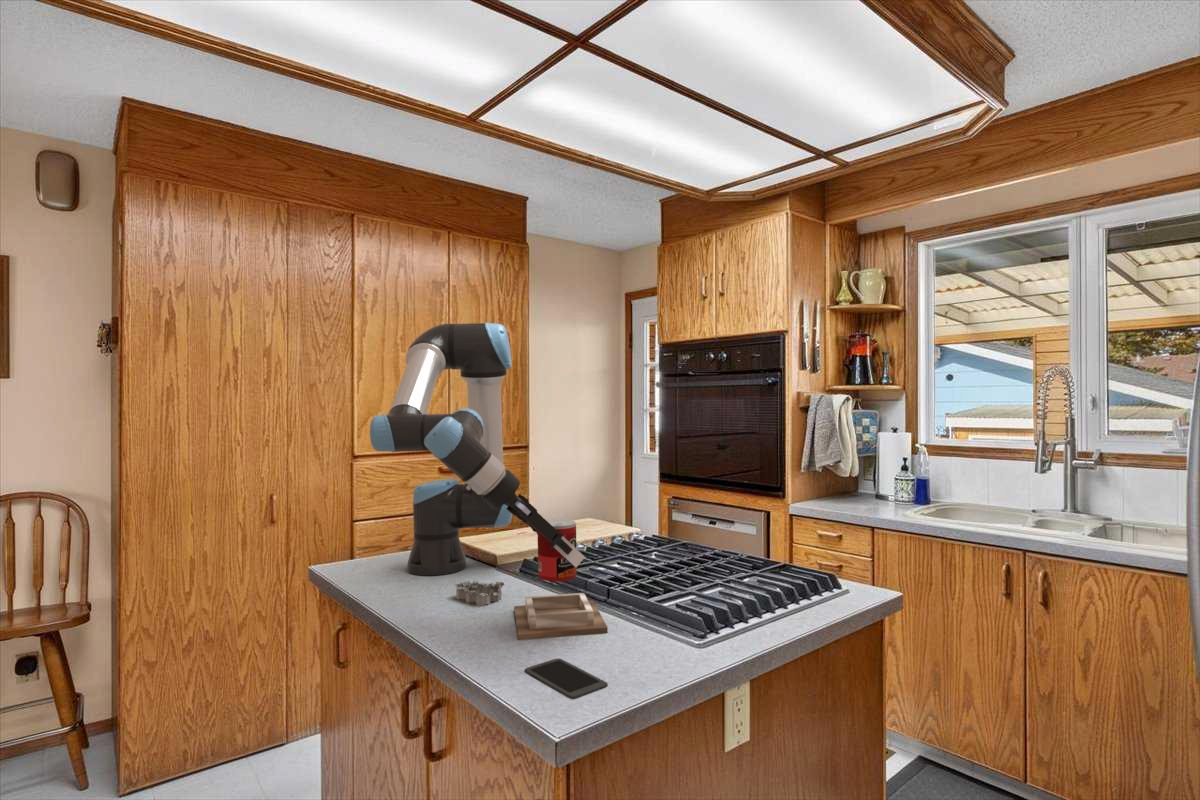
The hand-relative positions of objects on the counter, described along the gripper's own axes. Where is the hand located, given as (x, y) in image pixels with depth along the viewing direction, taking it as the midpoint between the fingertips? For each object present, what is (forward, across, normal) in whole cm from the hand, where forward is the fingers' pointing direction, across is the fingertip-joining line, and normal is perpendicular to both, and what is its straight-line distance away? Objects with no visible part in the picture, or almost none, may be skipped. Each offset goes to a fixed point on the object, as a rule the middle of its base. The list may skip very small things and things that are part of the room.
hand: (573, 556), depth 136 cm
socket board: (+7, 0, -11) cm, 13 cm away
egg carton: (-2, -22, -20) cm, 30 cm away
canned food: (0, 0, -5) cm, 5 cm away
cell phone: (+3, +26, -17) cm, 31 cm away
